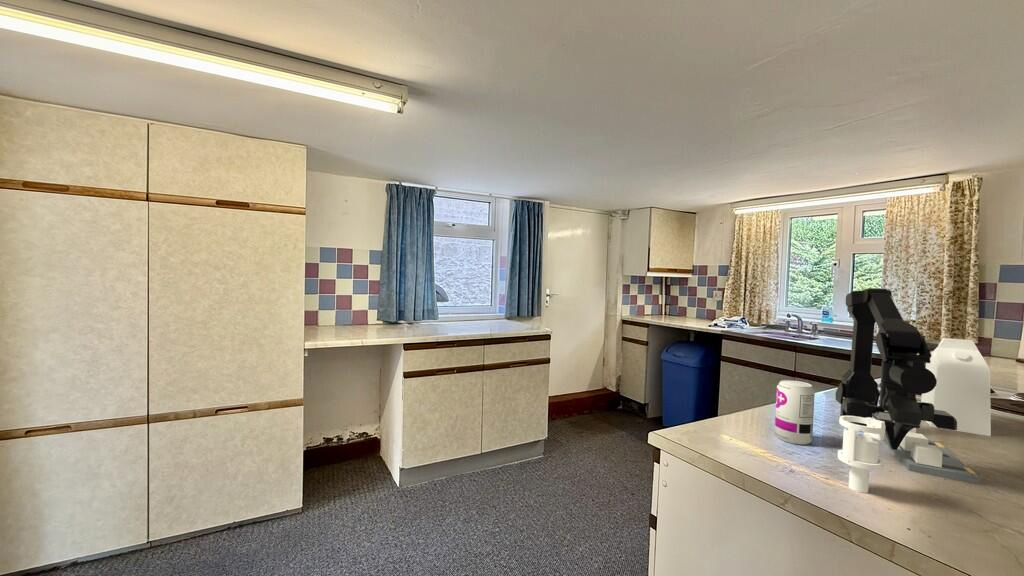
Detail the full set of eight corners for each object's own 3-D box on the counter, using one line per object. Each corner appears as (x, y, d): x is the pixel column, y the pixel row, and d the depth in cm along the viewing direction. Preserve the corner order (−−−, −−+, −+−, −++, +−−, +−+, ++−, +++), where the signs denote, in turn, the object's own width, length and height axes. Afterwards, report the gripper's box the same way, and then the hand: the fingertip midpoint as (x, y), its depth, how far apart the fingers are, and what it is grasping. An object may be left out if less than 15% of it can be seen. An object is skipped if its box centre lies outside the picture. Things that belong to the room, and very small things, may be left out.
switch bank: (909, 470, 91) (909, 463, 91) (880, 437, 111) (881, 432, 110) (979, 484, 86) (979, 476, 86) (937, 447, 105) (937, 441, 105)
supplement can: (778, 442, 106) (781, 385, 105) (771, 431, 113) (774, 378, 113) (816, 448, 103) (819, 389, 102) (806, 436, 110) (809, 381, 110)
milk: (973, 424, 124) (978, 339, 123) (990, 436, 114) (996, 344, 113) (919, 415, 130) (923, 335, 129) (931, 426, 120) (936, 339, 120)
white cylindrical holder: (869, 501, 78) (873, 424, 78) (828, 483, 85) (832, 412, 84) (889, 494, 81) (893, 419, 80) (848, 477, 87) (851, 408, 87)
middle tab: (904, 450, 98) (905, 436, 98) (899, 444, 102) (900, 430, 102) (927, 454, 96) (928, 439, 96) (921, 448, 100) (922, 434, 100)
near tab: (916, 463, 92) (917, 447, 91) (910, 456, 95) (911, 441, 95) (941, 467, 90) (942, 451, 89) (934, 460, 93) (935, 445, 93)
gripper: (853, 384, 92) (850, 452, 93) (971, 398, 83) (966, 473, 83) (843, 374, 102) (840, 436, 102) (947, 386, 93) (943, 453, 93)
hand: (893, 449), depth 95 cm, fingers closed
